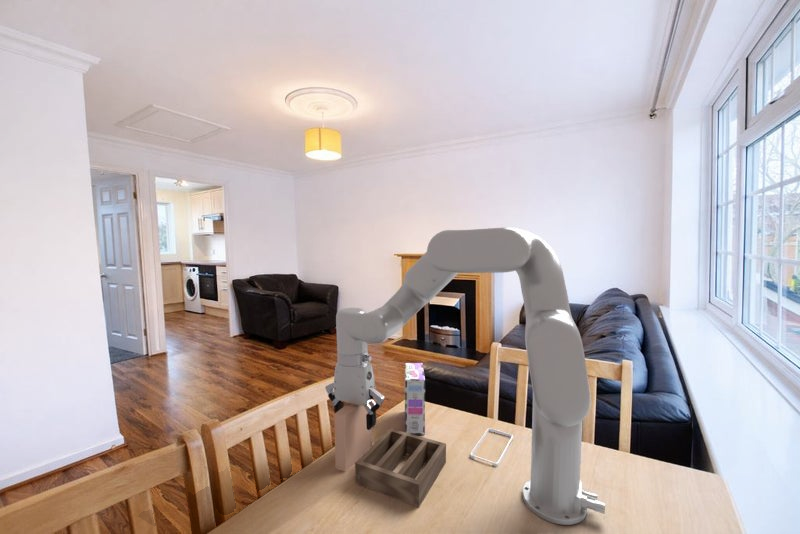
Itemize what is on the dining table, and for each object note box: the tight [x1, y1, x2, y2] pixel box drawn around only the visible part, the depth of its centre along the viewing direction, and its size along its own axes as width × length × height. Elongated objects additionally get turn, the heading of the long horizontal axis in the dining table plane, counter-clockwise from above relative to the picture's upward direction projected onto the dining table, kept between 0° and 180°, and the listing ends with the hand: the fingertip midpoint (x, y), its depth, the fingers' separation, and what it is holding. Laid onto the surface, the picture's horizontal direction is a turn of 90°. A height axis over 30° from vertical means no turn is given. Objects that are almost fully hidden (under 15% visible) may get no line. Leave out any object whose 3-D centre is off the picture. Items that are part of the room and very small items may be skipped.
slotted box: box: [354, 427, 447, 508], centre depth 85 cm, size 16×16×5 cm
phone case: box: [470, 427, 514, 467], centre depth 96 cm, size 7×1×15 cm
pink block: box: [333, 403, 373, 473], centre depth 91 cm, size 3×12×14 cm, turn 153°
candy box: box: [404, 362, 426, 436], centre depth 108 cm, size 14×6×16 cm, turn 179°
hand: (355, 422), depth 91 cm, fingers open, 9 cm apart
